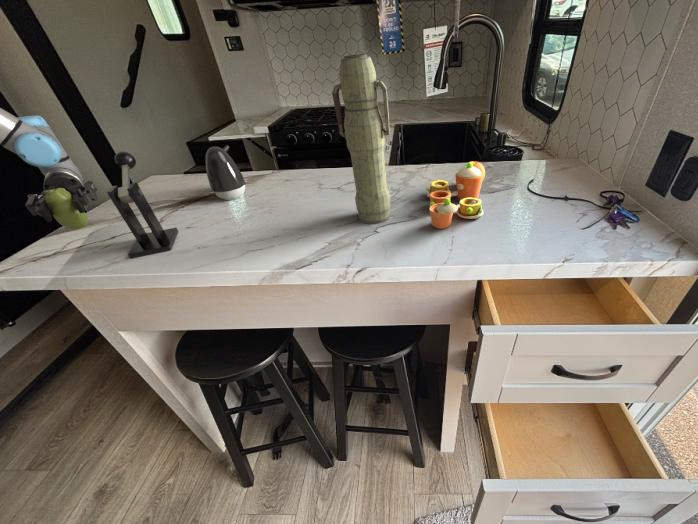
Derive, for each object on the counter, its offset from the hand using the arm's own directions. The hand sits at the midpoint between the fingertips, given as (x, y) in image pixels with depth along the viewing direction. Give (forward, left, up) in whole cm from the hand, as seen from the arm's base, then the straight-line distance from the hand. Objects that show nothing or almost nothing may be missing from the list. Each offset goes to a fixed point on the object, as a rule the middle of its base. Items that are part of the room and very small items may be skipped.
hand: (62, 211), depth 76 cm
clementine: (+95, -37, -12) cm, 103 cm away
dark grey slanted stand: (+13, -5, -12) cm, 18 cm away
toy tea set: (+80, -45, -12) cm, 92 cm away
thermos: (+62, -33, -12) cm, 71 cm away
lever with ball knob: (+15, +1, +2) cm, 15 cm away
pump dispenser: (+38, +13, -12) cm, 42 cm away
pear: (0, +5, -6) cm, 8 cm away
